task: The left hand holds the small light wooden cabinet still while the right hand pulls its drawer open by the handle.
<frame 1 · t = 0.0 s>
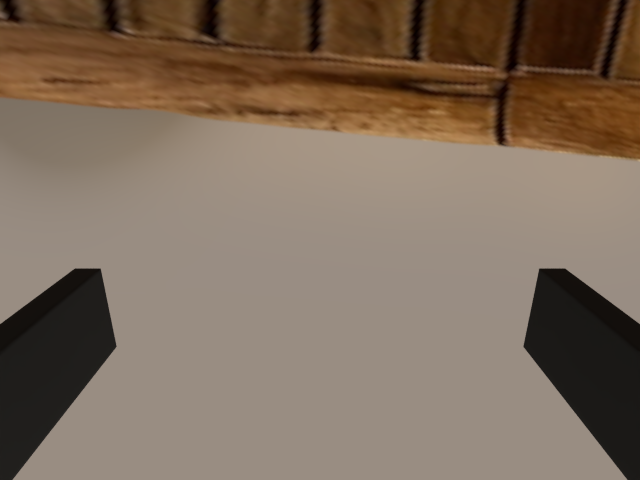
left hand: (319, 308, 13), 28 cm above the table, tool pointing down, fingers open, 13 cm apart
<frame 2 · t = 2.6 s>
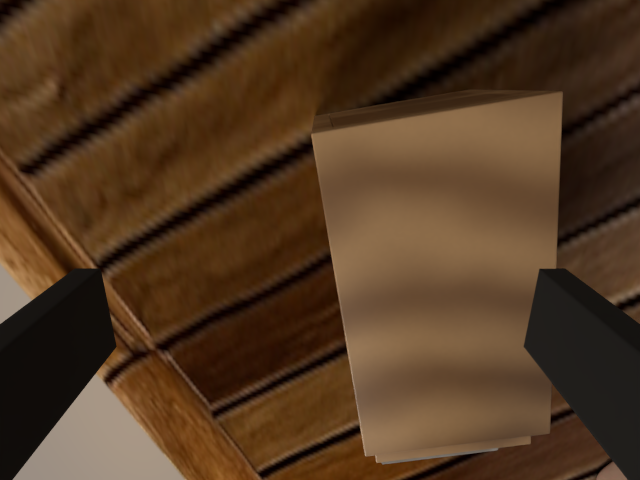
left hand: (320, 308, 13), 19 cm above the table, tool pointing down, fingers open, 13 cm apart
cabinet: (403, 230, 32), on the table
drawer: (426, 328, 28), point 6 cm above the table, slide at 0.6 cm
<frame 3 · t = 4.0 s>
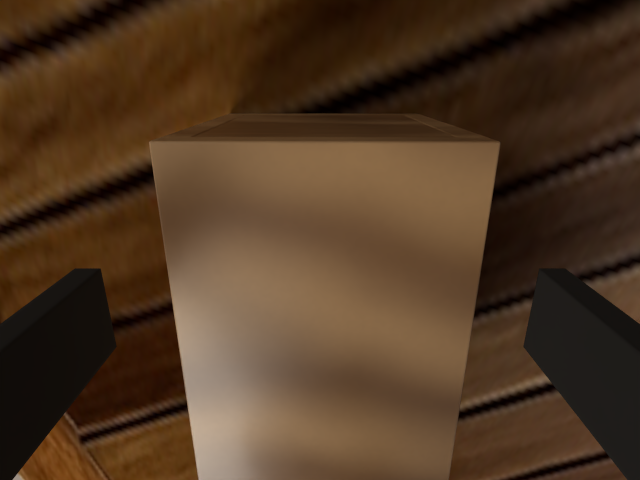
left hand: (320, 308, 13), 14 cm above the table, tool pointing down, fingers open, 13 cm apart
cabinet: (323, 265, 27), on the table
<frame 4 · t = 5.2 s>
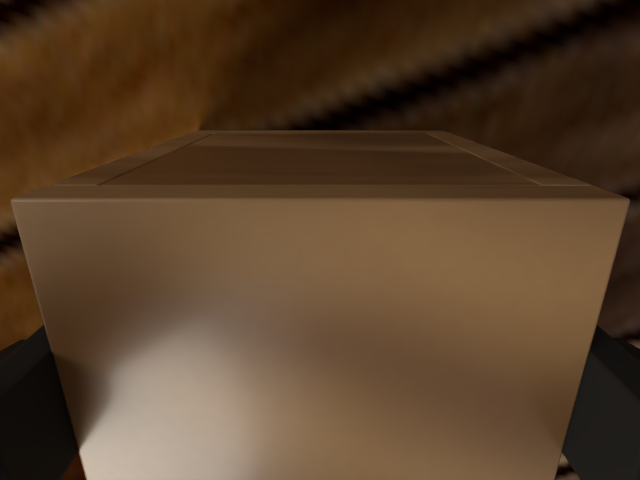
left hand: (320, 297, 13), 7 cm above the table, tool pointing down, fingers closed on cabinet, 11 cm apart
cabinet: (320, 318, 21), on the table, touching left hand
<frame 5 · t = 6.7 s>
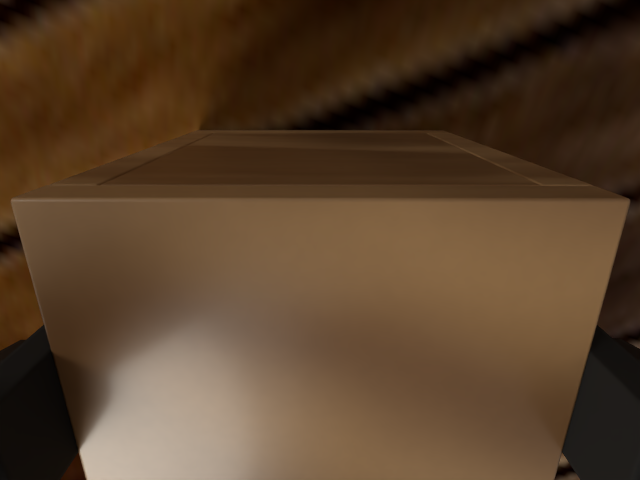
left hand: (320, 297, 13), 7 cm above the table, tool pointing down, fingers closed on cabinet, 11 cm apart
cabinet: (320, 318, 21), on the table, touching left hand
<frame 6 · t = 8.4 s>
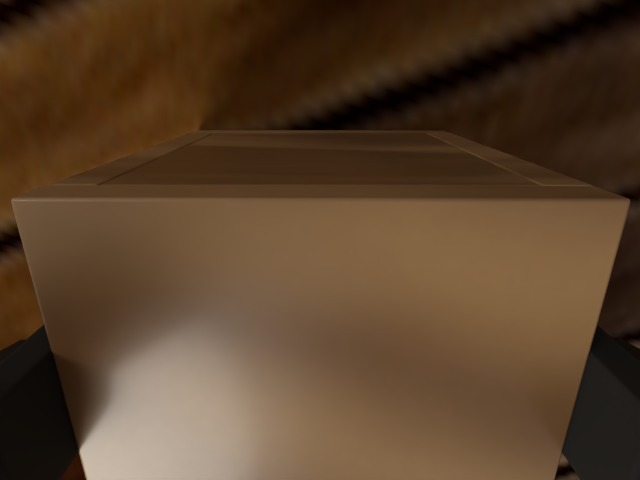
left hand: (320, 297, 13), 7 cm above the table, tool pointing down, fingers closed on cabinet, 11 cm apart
cabinet: (320, 318, 21), on the table, touching left hand
when the left hand's fingers open (7 cm above the table, at t = 10.2 s): cabinet stays where it is, on the table.
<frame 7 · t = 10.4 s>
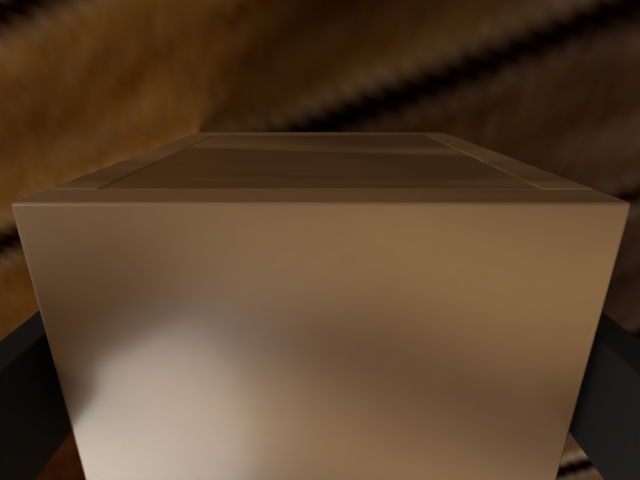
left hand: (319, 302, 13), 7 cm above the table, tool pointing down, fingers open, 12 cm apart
cabinet: (320, 320, 21), on the table
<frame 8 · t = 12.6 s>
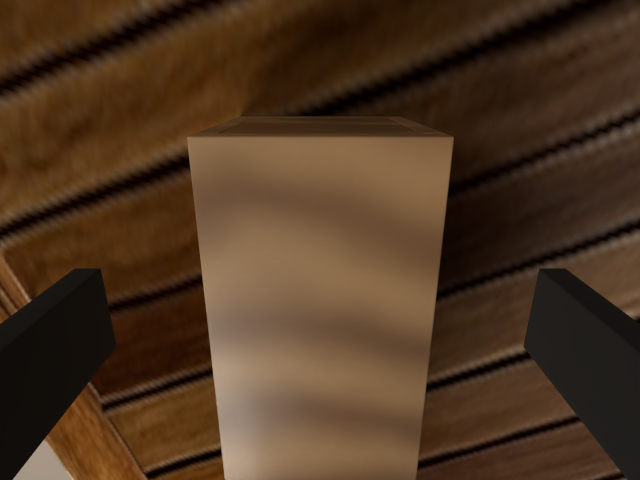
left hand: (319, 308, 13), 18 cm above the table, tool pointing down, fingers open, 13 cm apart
cabinet: (320, 248, 31), on the table
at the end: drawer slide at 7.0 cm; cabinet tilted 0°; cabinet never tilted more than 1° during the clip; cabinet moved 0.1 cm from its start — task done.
